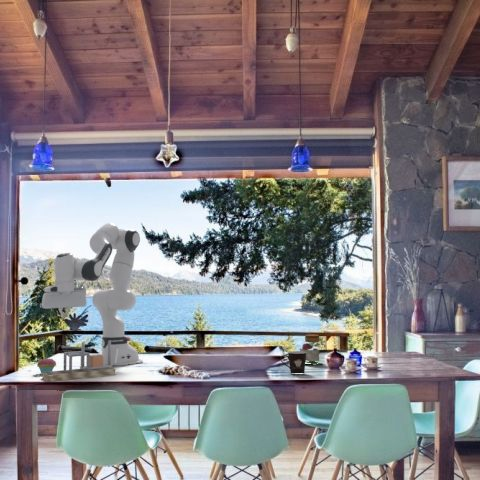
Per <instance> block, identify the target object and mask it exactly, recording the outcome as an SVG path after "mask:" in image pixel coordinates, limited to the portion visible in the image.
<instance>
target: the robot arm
mask: <svg viewBox="0 0 480 480" xmlns="http://www.w3.org/2000/svg"><path fill="white" fill-rule="evenodd" d="M140 242H141V238H140V233H139V232H138V231H137V230H135V229H129V228H119V227H118V226H117V225H116V224H114V223H112V222H108V223H105V224H103V225H102V226H101V227H100V228H98V229H97V230H96V231H95V233H94V234H93V235H92V236H91V237H90V239H89V247H90V249H91V250H92V251H93V253H94V254H96V255H95V257H94V258H92V259H87V260H86V259H85V260H83V259H77V258H76V257H75V256H74V254H73V253H70V252H65V253H59V254H57V255H56V257H55V261H54V274H55V277H54V278H55V279H54V284H51V285H48V286H45V287H44V290H43V291H44V293H43V295H42V299H41V307H42V309H58V311H59V313H60V318H64V319H65V318H69V313H70V312H71V308H82V307H86V306H87V297H86V296H87V289H86V288H84V287H82V286H80V287H75V281H90V282H95V281H97V280H98V279H99V278H100V277H101V276H102V272H103V269H104V267H105V266H106V264H107V262H108V261H109V259H110V257H111V255H112V253H113V250H116V252H115V254H114V258H113V260H112V264H111V268H110V272H109V279H110V281H111V282H112V283H113V289H100V290H97V291H95V292H94V294H93V296H92V298H91V299H92V304H93V307H94V308H95V309H96V310H97V311H98V313H99V315H100V317H101V321H102V337H101V347H102V351H101V355H103V365H104V364H108V341H111V365H112V366H118V367H120V366H126V365H127V366H128V364H129V365H134V364H135V365H136V363H137V364H141V363H142V364H143V363H144V361H143V359H141V358H139V356H140V355H139V352H138V350H137V349H136V348H135V347H133V346H132V345H130V344H129V343H128V342H131V340H132V339H131V337H129V336H125V321H124V319H123V318H121V317H120V315H119V313H118V311H128V310H129V311H130V310H132V309H133V308H134V307H135V305H136V302H137V299H136V297H137V296H136V294H135V293H134V292H133V290H132V289H131V276H132V272H133V267H134V264H135V263H134V262H135V251H136V249H137V248H138V246H139V245H140ZM63 309H66V312H65V313H64V312H63Z"/></svg>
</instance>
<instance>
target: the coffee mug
mask: <svg viewBox="0 0 480 480" xmlns="http://www.w3.org/2000/svg"><path fill="white" fill-rule="evenodd" d="M287 354H288V355H286V354H283V355H281V356H280V360H279V361H280V362H281V363H282V364H283V365H284V366H286V367H287V368H289V371H290V374H291V373H304V374H305V372H306V371H305V370H306V365H305V362H306V361H307V360H306V352H303V351H300V350H295V351H288V352H287ZM283 357H286V358H287V359H288V363H289V365H288V364H286V363H284V362H283V360H282V359H283Z"/></svg>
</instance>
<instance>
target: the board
mask: <svg viewBox="0 0 480 480" xmlns="http://www.w3.org/2000/svg"><path fill="white" fill-rule="evenodd" d="M115 375H116V369H115V368H114V367H113V366H112V367H108V368H98V369H89V372H86V370H83V369H80V368H75V369H73V368H72V373H71V374H69V369H66V370H64V369H62V370H52V371H50V372H44V373H43V374H42V379H43V380H45V381H47V382H58V381H66V380H76V379H86V378H96V377H97V378H98V377H108V376H115Z"/></svg>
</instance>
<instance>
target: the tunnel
mask: <svg viewBox="0 0 480 480" xmlns="http://www.w3.org/2000/svg"><path fill="white" fill-rule="evenodd" d="M89 355H90V352H88V351H87V352H86V351H85V352H84V353H81V350H78V351H68V352H67V351H64V352H63V370H67V358H68V359H69V360H68V363H69V364H68V366H69V367H68V370H69V374H71V373H72V369H73V357H74V358H75V357H81V356H86V362H85V363H86V365H85V366H86V372H89Z"/></svg>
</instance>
